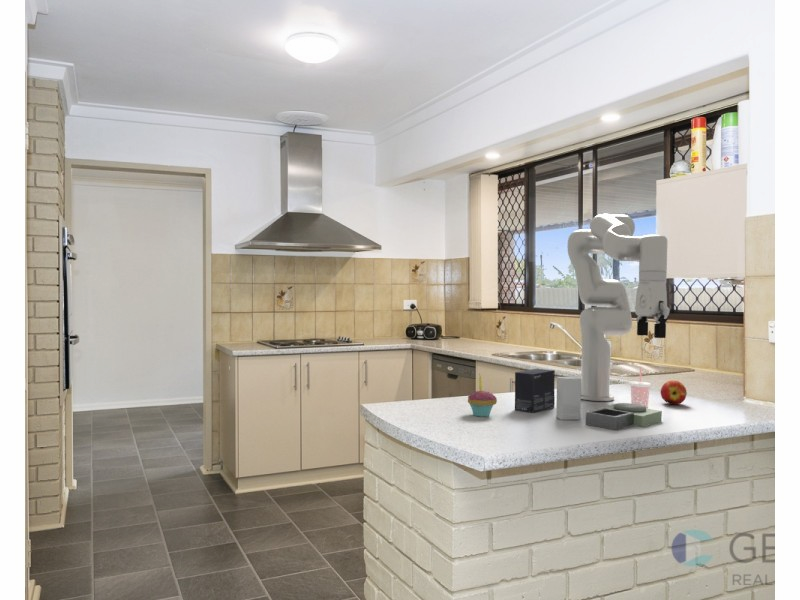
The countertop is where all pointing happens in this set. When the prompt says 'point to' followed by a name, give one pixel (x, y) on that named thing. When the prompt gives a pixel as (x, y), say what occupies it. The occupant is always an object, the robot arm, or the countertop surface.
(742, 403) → the countertop surface
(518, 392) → the small box
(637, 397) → the beverage cup
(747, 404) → the countertop surface
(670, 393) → the apple
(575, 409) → the skincare box
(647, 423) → the green domed square base
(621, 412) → the frame
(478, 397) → the cupcake
